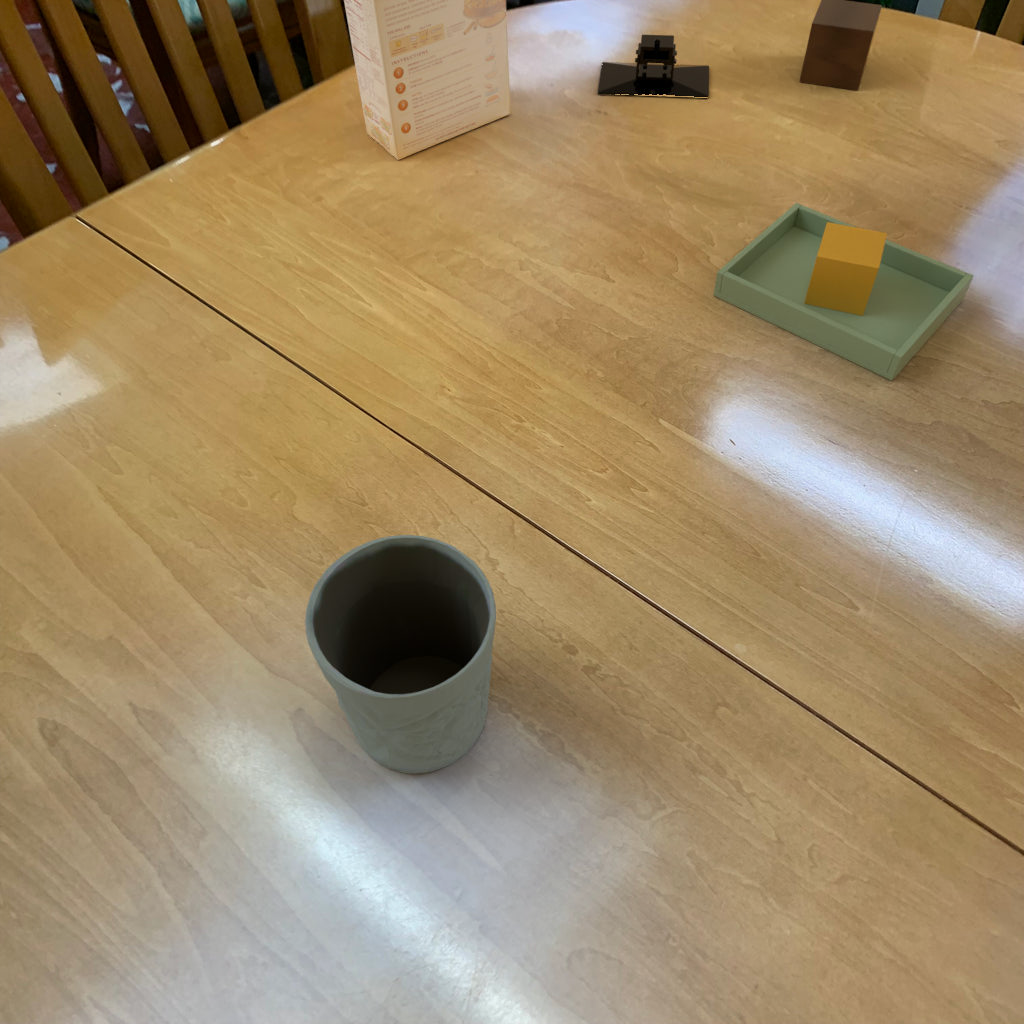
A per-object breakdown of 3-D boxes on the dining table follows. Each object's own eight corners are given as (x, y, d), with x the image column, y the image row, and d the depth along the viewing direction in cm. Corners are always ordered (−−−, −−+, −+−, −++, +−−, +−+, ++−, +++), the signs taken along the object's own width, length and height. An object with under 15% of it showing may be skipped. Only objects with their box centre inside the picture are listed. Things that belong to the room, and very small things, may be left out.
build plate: (597, 96, 104) (598, 54, 101) (602, 64, 109) (603, 23, 105) (708, 99, 103) (714, 57, 99) (708, 67, 107) (714, 25, 104)
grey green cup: (347, 646, 61) (310, 539, 52) (499, 634, 62) (490, 526, 52) (340, 795, 55) (297, 704, 46) (509, 781, 55) (501, 688, 46)
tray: (963, 299, 81) (974, 275, 79) (891, 381, 75) (901, 357, 73) (790, 226, 88) (796, 202, 86) (712, 295, 82) (717, 271, 80)
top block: (871, 281, 82) (887, 232, 78) (862, 316, 79) (879, 268, 75) (814, 269, 83) (827, 221, 79) (803, 303, 80) (816, 255, 76)
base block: (866, 63, 107) (882, 4, 102) (857, 91, 103) (874, 31, 98) (809, 55, 108) (822, -3, 103) (799, 82, 105) (811, 23, 100)
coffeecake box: (477, 90, 106) (464, -104, 91) (513, 115, 102) (506, -83, 87) (363, 134, 101) (330, -64, 85) (397, 162, 97) (368, -39, 82)
